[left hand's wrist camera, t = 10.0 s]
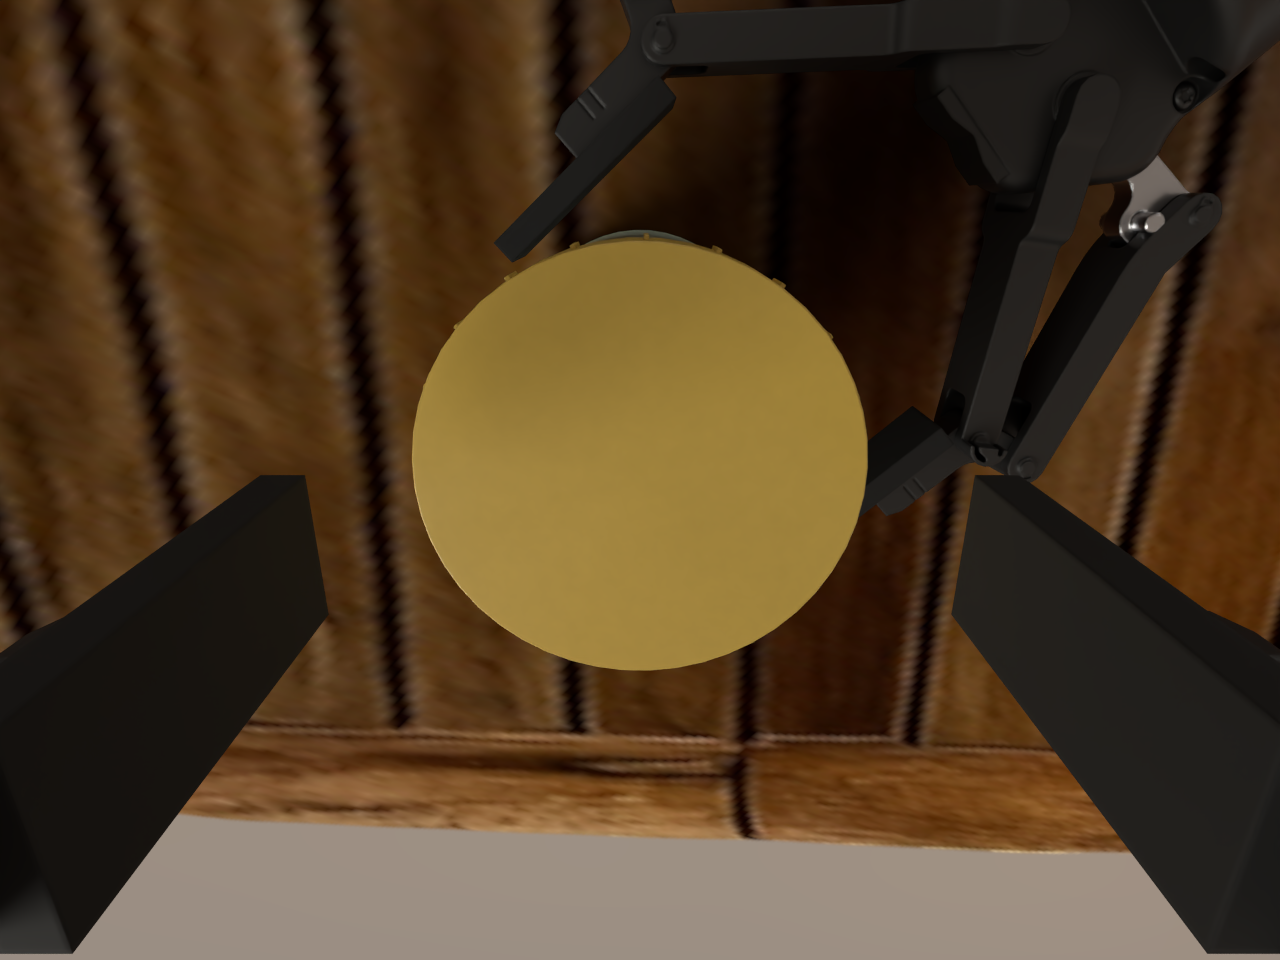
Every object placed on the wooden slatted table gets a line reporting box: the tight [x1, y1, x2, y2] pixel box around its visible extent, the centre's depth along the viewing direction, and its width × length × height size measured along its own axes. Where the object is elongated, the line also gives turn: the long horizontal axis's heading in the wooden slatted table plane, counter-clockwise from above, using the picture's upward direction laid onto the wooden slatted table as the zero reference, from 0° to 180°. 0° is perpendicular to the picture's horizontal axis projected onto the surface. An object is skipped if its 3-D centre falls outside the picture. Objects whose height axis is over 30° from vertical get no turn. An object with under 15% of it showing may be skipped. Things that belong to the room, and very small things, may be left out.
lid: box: [412, 233, 868, 670], centre depth 17 cm, size 10×10×2 cm
